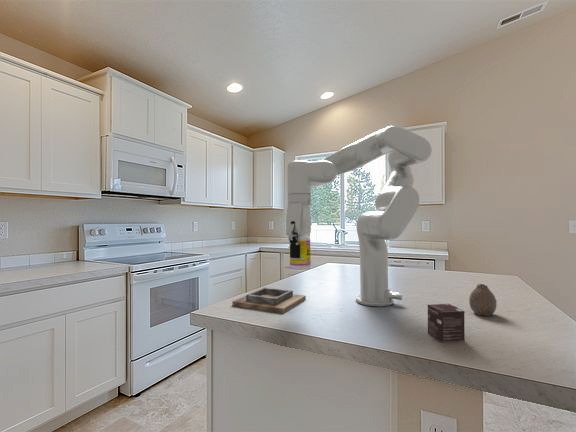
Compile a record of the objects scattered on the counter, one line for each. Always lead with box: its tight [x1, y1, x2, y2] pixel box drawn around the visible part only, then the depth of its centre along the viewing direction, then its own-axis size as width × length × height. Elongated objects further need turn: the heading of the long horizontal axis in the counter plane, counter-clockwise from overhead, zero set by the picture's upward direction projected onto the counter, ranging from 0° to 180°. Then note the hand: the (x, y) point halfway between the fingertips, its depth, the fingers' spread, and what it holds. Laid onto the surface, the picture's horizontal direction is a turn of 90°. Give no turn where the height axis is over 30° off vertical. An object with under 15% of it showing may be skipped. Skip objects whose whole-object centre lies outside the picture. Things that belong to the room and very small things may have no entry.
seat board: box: [231, 287, 307, 314], centre depth 106 cm, size 20×17×4 cm
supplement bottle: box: [289, 228, 311, 270], centre depth 95 cm, size 7×7×13 cm
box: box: [427, 303, 466, 344], centre depth 74 cm, size 6×6×7 cm
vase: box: [468, 283, 498, 317], centre depth 90 cm, size 7×7×9 cm
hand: (300, 256), depth 95 cm, fingers closed on supplement bottle, 6 cm apart
